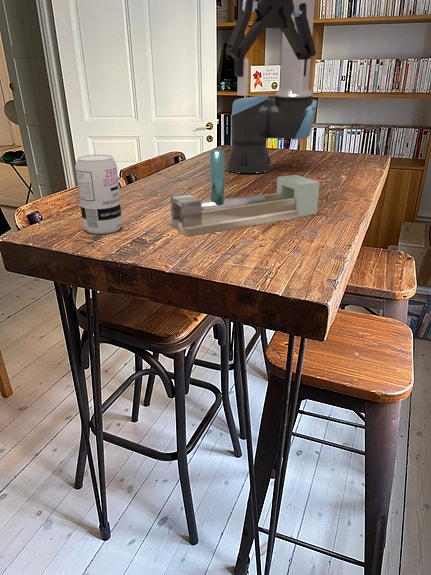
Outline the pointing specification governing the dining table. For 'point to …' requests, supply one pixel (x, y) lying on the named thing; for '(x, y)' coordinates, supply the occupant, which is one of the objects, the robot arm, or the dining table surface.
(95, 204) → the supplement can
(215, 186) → the sliding bolt
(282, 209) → the rail
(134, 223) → the dining table surface
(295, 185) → the socket
